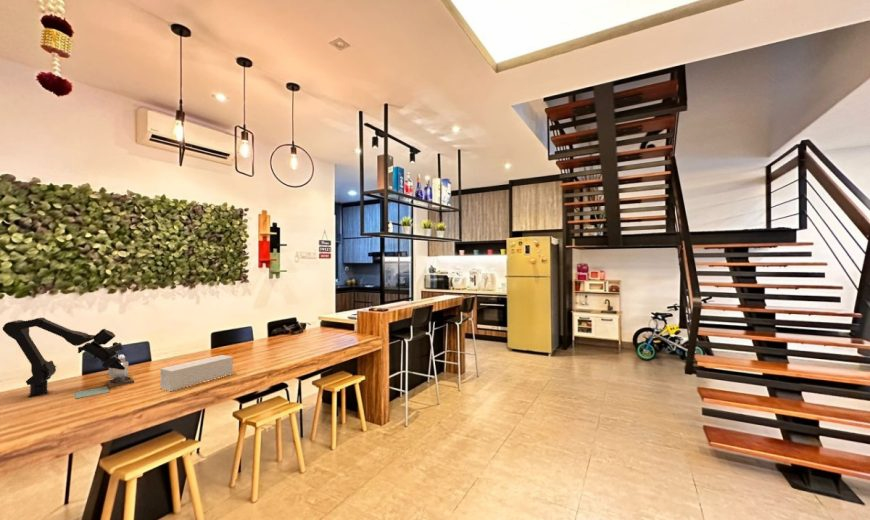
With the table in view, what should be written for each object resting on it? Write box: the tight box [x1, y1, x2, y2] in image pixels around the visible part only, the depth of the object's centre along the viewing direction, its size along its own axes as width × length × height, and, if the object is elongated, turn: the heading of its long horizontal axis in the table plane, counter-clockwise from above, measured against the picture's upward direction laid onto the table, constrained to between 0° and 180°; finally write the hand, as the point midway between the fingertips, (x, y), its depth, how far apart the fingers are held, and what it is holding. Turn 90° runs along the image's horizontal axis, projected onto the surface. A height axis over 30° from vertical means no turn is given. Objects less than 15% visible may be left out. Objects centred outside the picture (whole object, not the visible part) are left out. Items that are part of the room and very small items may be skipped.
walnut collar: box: [107, 376, 135, 388], centre depth 190 cm, size 10×10×2 cm
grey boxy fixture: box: [108, 353, 126, 379], centre depth 205 cm, size 11×7×11 cm, turn 47°
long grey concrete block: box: [160, 354, 234, 392], centre depth 193 cm, size 32×11×11 cm, turn 152°
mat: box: [74, 385, 110, 400], centre depth 175 cm, size 12×12×1 cm
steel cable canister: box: [112, 361, 129, 384], centre depth 190 cm, size 6×6×10 cm
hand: (124, 367), depth 191 cm, fingers closed on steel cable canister, 6 cm apart
